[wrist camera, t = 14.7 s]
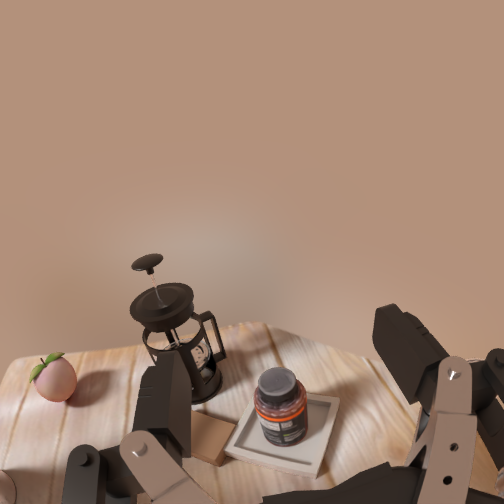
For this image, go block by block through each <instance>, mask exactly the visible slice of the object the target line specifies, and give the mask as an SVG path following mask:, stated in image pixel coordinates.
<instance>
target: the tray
mask: <svg viewBox="0 0 504 504" xmlns="http://www.w3.org/2000/svg"><path fill="white" fill-rule="evenodd" d="M306 395H307V411H308V431H307V434H306V436H305V437H304V439H303V440H302V441H300V442H299V443H297V444H296V445H293V446H290V447H278V446H275V445H273V444H271V443H270V442H268V441H267V440H266V438H265V436H264V434H263V431H262V428H261V425H260V422H259V419H258V415H257V412H256V409H255V405H254V400H253V398H254V395H253V396H252V398H251V400H250V402H249V404H248V406H247V408H246V410H245V411H244V413H243V415H242V417H241V419H240V420H239V422H238V424H237V426H236V428H235V429H234V431H233V433H232V435H231V437H230V438H229V440H228V442H227V444H226V445H225V447H224V449H223V451H224V452H225V454H226V456H229V457H232V458H235V459H238V460H242V461H245V462H248V463H251V464H255V465H258V466H262V467H265V468H269V469H273V470H277V471H281V472H285V473H289V474H294V475H299V476H304V477H309V478H314V479H316V478H317V475H318V472H319V469H320V466H321V464H322V461H323V458H324V455H325V452H326V449H327V446H328V442H329V439H330V436H331V433H332V429H333V426H334V422H335V419H336V415H337V412H338V408H339V403H340V398H339V397H331V396H324V395H317V394H311V393H306Z"/></svg>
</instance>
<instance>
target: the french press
mask: <svg viewBox="0 0 504 504" xmlns="http://www.w3.org/2000/svg"><path fill="white" fill-rule="evenodd" d="M162 260H163V256H162V255H161V254H149V255H145V256H143V257H141V258H139V259H137V260H136V261H135V262H134V263H133V264H132V266H131V267H132V269H133V270H136V271H142V270H146V271H147V274H148V275H150V276H151V279H152V282H153V285H154V287H152V288H150V289H148V290H146V291H144V292H143V293H141V294H140V295H139V296H138V297H137V298H136V299H135V300H134V301H133V302H132V304H131V306H130V314H131V316H132V318H133V319H134V320H136V321H138V322H140V323H141V324H142V325H143V326H144V327H145V329H144V331H143V337H142V338H143V342H144V344H145V346H146V348H147V350H148V352H149V354H150V356H151V358H152V360H153V362H154V364H155V366H156V361H155V359H154V357H153V355H155V356H157V355H158V353H159V352H167V351H174V350H177V351H178V352H179V354H180V356H181V358H182V361H183V363H184V365H185V367H186V369H187V372H188V374H189V376H190V380H191V383H192V385H193V388H194V389H193V390H192V402H191V405H196V404H200V403H203V402H206V401H208V400H209V399H211V398H212V397H214V396H215V395H216V394H217V393H218V391H219V390H220V388H221V386H222V382H223V377H222V373H221V371H220V370H219V368H218V366H217V362H219V361H221V360H223V359H225V358H226V357H227V356H226V353H225V349H224V346H223V343H222V340H221V336H220V333H219V330H218V326H217V323H216V319H215V317H214V315H213V314H212V313H211V312H210V311H206V312H204V313H202V314H200V315H198V314H196V313H195V312H193V311H194V304H193V302H192V301H193V298H194V295H193V290H192V289H191V288H190V287H189V286H188V285H186V284H182V283H166V284H161V285H158V286H157V285H156V282H155V279H154V276H153V273H154V270H153V267H154V266H156V265H158V264H159V263H160V262H161V261H162ZM189 318H192V319H195V320H197V321H198V322H199V325H200V327H201V328H200V330H199V332H198V334H197V335H196V336H195V337H194V338H193V339H192V338H188V339H182V340H179V338H178V335H177V333H176V330H175V328H177V327H179V326H180V325H182V324H183V323H185V322H186V321H187V320H188V319H189ZM209 319H211V323H212V326H213V329H214V332H215V336H216V339H217V342H218V345H219V348H220V352H218V353H216V354H214V355H213V352H212V349H211V346H210V343H209V340H208V337H207V334H206V331H205V328H204V325H203V322H205V321H207V320H209ZM151 332H156V333H159V332H165V334H166V336H167V339H168V341H169V343H170V345H168V346H167V347H165V348H164V349H163V350H158V349H154V348H151V347H149V346H148V345H147V339H148V336H149V334H150V333H151ZM203 336H204V339H205V342H206V343H205V342H203V341H201V340H202V339H203ZM152 354H153V355H152ZM204 368H207V369H209V370H210V371H211V372H212V373H213V374H214V375H213V376H212V378H211V379H210V380H209V381H208V382H207V383H206V384H205V383H204V381H203V379H202V377H201V374H200V372H201V371H202V370H203V369H204Z"/></svg>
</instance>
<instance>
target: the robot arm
mask: <svg viewBox="0 0 504 504" xmlns="http://www.w3.org/2000/svg"><path fill="white" fill-rule="evenodd" d="M372 338H373V344H374V347H375V349H376V351H377V352H378V354H379V355H380V357H381V358H382V360H383V362H384V363H385V365H386V367H387V368H388V370H389V371H390V373H391V375H392V376H393V378H394V380H395V381H396V383H397V384H398V386H399V388H400V389H401V391H402V393H403V394H404V396H405V398H406V399H407V401H408V403H409V404H410V405H411V404H413V403H415V402H418V401H419V402H420V403H421V407H420V411H419V416H418V421H417V426H416V431H415V435H414V439H413V443H412V447H411V450H410V452H409V454H408V456H407V459H406V461H405V464H404V466H395V467H391V466H390V464H389V462H385V463H383V464H381V465H378V466H375V467H373V468H370V469H368V470H365V471H362V472H359V473H358V474H356V475H355V476H353V477H351V478H350V479H348V480H346V481H345V482H343V483H341V484H339V485H337V486H336V487H334V488H332V489H328V490H310V491H292V492H287V493H282V494H276V495H270V496H264V497H262V498H263V503H260V504H504V410H503V408H502V406H501V405H500V403H499V402H498V400H497V399H496V396H497V395H498V396H499V397H500V399H501V400H502V402H503V403H504V349H499V348H497V349H493V350H491V351H490V352H489V353H488V355H487V357H486V359H485V360H482V361H477V362H472V363H468V362H467V361H466V360H465V359H463V358H461V357H457V356H450V355H449V354H448V353H447V352H446V351H445V350H444V348H443V347H442V346H441V345H440V343H439V342H438V341H437V340H436V339H435V338H434V337H433V335H432V334H430V333H429V331H428V329H427V328H426V327H424V325H423V324H422V323H421V322H420V320H419V319H418V318H417V317H415V316H413V315H412V314H410V313H408V312H404V313H403V312H402V311H401V310H400V309H399V308H398V306H397V305H396V304H389V305H387V306H383V307H380V308H377V309H376V313H375V320H374V328H373V336H372ZM138 397H139V398H138V400H137V405H136V411H135V417H134V423H133V429H132V432H131V433H129V434H128V435H126V436H125V437H124V438H123V440H122V441H121V444H120V445H118V446H115V447H111V448H107V449H104V450H100V451H98V450H97V449H95V448H94V447H93V446H91V445H87V444H84V445H79V446H77V447H75V448H74V449H73V450H72V451H71V453H70V455H69V457H68V462H67V468H66V474H65V481H64V488H63V496H62V504H137V494H140V493H144V492H146V493H147V494H148V495H149V497H150V498H151V504H218V503H217V502H216V501H215V500H214V499H213V498H212V497H211V496H209V495H208V494H207V493H206V492H205V491H204V490H203V489H202V488H201V487H200V486H199V485H198V484H197V483H196V482H195V481H194V480H193V479H192V477H191V476H190V475H189V474H188V473H187V472H186V471H185V470H184V469H183V468H182V458H190V457H191V402H192V386H191V380H190V376H189V374H188V372H187V369H186V367H185V365H184V363H183V361H182V358H181V356H180V354H179V352H178V351H177V350H174V351H167V352H159V353H158V355H157V361H156V366H149V367H148V368H147V370H146V371H145V373H144V374H143V376H142V379H141V384H140V389H139V394H138ZM476 431H478V433H479V435H480V436H481V438H482V440H483V442H484V444H485V446H486V447H487V449H488V451H489V453H490V455H491V457H492V459H493V461H494V463H495V465H496V467H497V469H498V471H499V473H498V477H497V482H496V483H495V489H496V490H497V491H499V495H498V496H495V495H491V494H488V493H485V492H481V491H478V490H475V489H472V488H469V482H470V477H471V471H472V465H473V458H474V450H475V442H476ZM15 499H16V489H15V485H14V483H13V481H12V479H11V478H10V477H9V476H8V475H7V474H6V473H4V472H3V471H2V470H0V504H14V503H15Z"/></svg>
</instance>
